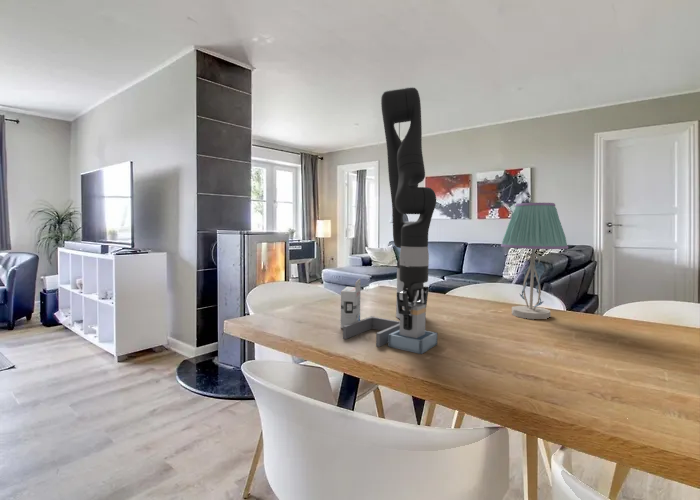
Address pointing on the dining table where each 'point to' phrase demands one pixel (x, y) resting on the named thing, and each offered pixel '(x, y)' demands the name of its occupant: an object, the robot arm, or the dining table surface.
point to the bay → (372, 323)
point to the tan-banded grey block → (415, 322)
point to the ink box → (350, 304)
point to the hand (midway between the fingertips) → (412, 327)
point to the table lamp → (534, 246)
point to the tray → (413, 342)
